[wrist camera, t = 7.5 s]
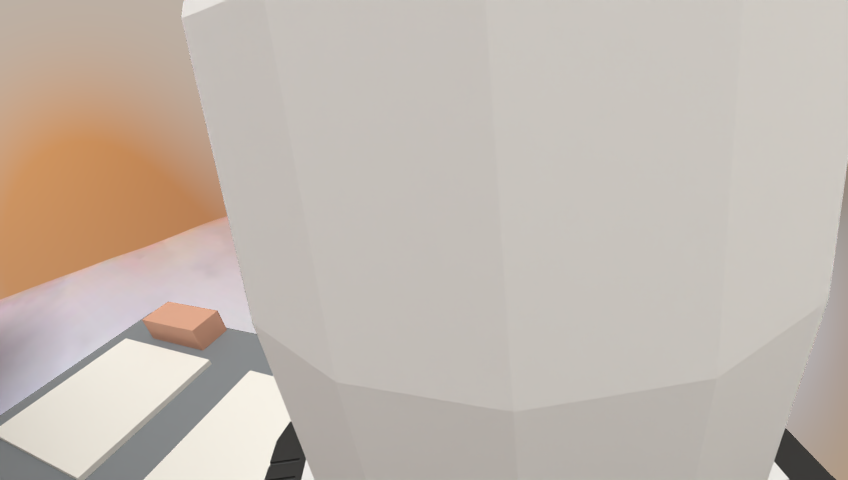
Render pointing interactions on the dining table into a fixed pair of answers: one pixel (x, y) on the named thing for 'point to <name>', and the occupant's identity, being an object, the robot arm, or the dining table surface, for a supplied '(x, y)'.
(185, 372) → the coaster board
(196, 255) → the dining table surface
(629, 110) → the cup
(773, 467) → the robot arm
